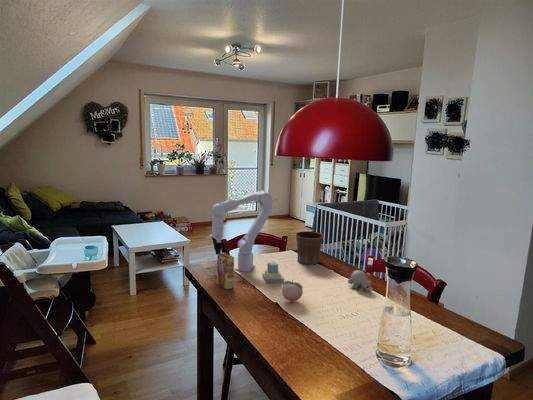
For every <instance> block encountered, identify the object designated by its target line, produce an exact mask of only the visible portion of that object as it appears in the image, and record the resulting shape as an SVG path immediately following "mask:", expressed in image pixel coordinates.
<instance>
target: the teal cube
mask: <svg viewBox="0 0 533 400" xmlns="http://www.w3.org/2000/svg"><path fill="white" fill-rule="evenodd" d="M267 269H268V271H269V272H270V273H276V272H278V269H279V264H278V263H277V262H275V261H270V262H267Z"/></svg>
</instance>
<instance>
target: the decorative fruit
mask: <svg viewBox="0 0 533 400" xmlns="http://www.w3.org/2000/svg"><path fill="white" fill-rule="evenodd" d="M281 287H282V288H281V294H282V296H283V298H284V299H285V300H287V301H288V302H289V301H290V302H291V303H292V302H296V301H298V300H299V299H300V298H301V297H302V295H303V294H304V293H303V291H304V290H303V289H304V287H303V285H302V284H301V283H300V282H296V281H295V282H294V280H293V279H292V281H291V280H284V282H283V283H282V286H281Z"/></svg>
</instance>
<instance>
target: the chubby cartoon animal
mask: <svg viewBox="0 0 533 400" xmlns="http://www.w3.org/2000/svg"><path fill="white" fill-rule="evenodd" d="M350 275H351V276H350V277H349V279H348V280H347V283H348V284H350V285H352V288H353V289H355V290H357V289H358V288H363V290H364V289H365V292H366V293H370V292H371V291H373V287H372V284H371V283H372V280H368V279H367V275H366V273H365V272H364V271H363V270H360V269H356V270H354V271H353V272H352V273H351V274H350Z"/></svg>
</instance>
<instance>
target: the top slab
mask: <svg viewBox="0 0 533 400" xmlns="http://www.w3.org/2000/svg"><path fill="white" fill-rule="evenodd" d="M264 273H265V276H266V279H280V273H281V272H280V270H279V268H278V272H276V273H270V272H269V271H268V268H265V269H264Z"/></svg>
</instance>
